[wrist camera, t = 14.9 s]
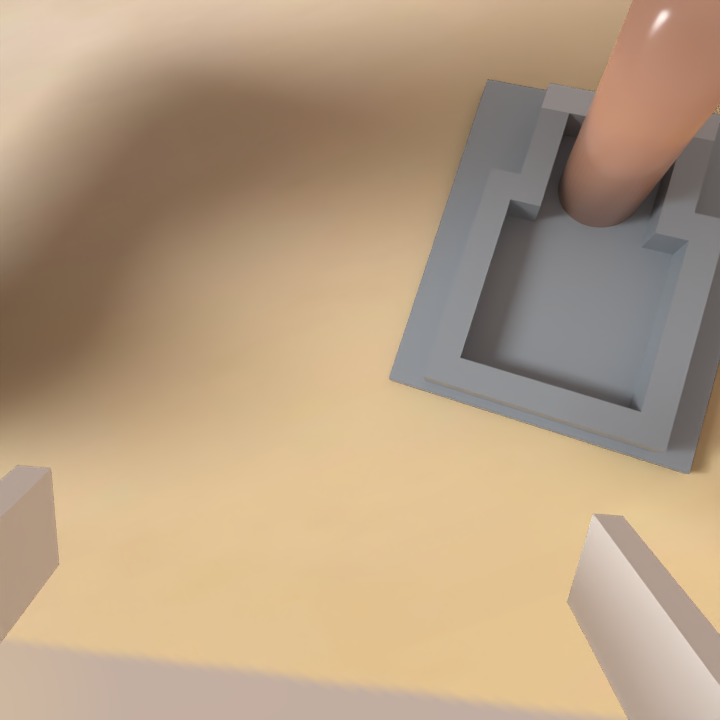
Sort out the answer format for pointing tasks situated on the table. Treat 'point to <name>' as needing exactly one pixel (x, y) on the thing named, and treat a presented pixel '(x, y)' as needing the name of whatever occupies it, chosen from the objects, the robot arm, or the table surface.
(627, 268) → the keyhole board
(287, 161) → the table surface
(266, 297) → the table surface
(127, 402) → the table surface
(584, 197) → the tall peach cylinder
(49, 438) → the table surface
